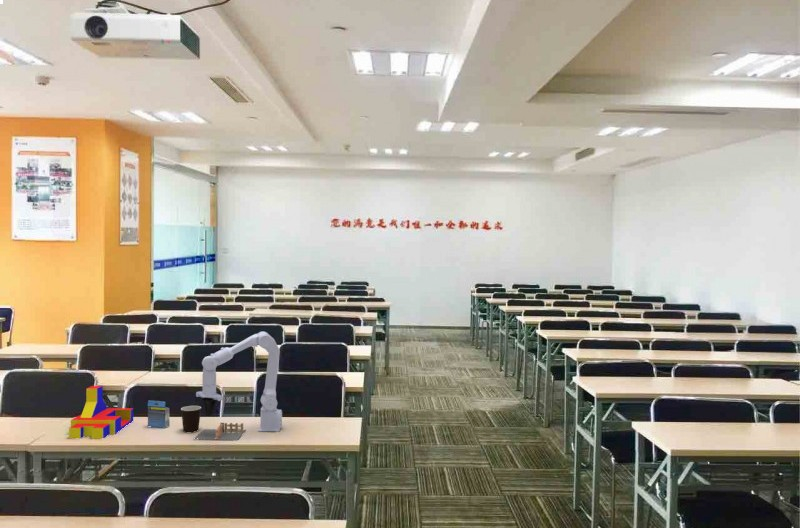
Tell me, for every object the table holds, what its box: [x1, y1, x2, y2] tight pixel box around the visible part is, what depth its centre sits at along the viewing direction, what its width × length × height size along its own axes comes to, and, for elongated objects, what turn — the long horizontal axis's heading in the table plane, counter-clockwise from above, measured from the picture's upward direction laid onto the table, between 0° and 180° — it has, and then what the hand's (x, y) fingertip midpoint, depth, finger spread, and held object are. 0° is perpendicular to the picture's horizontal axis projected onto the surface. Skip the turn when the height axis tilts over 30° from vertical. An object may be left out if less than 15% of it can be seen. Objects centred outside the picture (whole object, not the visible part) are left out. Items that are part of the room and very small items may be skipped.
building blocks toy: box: [68, 385, 134, 440], centre depth 257 cm, size 19×25×18 cm
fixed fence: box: [219, 422, 244, 433], centre depth 255 cm, size 10×2×4 cm, turn 90°
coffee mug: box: [180, 405, 202, 433], centre depth 260 cm, size 12×9×10 cm
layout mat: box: [194, 428, 247, 441], centre depth 252 cm, size 19×14×1 cm
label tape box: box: [147, 400, 171, 428], centre depth 263 cm, size 9×4×12 cm, turn 82°
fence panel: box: [216, 423, 223, 439], centre depth 250 cm, size 8×1×4 cm, turn 4°
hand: (209, 414), depth 252 cm, fingers closed
